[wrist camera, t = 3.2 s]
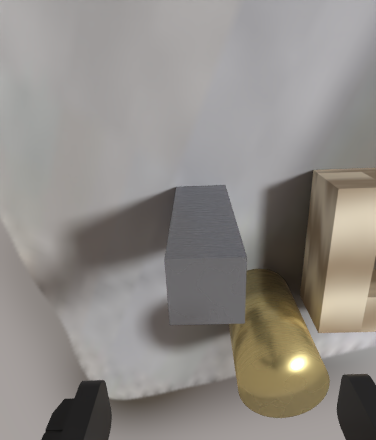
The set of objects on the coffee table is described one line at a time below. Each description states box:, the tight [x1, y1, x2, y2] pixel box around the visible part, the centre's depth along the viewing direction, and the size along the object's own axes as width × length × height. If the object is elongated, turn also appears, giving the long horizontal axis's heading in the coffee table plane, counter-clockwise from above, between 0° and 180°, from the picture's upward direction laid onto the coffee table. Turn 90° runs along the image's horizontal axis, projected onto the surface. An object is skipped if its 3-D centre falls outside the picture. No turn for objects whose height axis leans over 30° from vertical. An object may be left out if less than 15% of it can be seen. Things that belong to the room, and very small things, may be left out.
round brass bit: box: [229, 269, 330, 418], centre depth 27 cm, size 6×6×10 cm
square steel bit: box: [165, 185, 247, 325], centre depth 23 cm, size 4×4×12 cm
